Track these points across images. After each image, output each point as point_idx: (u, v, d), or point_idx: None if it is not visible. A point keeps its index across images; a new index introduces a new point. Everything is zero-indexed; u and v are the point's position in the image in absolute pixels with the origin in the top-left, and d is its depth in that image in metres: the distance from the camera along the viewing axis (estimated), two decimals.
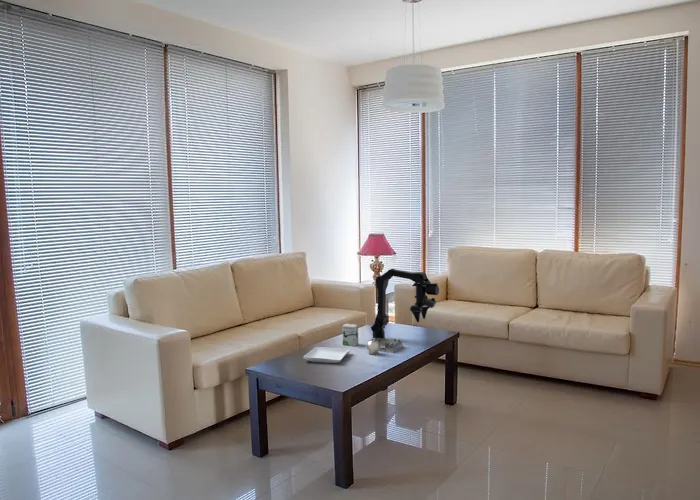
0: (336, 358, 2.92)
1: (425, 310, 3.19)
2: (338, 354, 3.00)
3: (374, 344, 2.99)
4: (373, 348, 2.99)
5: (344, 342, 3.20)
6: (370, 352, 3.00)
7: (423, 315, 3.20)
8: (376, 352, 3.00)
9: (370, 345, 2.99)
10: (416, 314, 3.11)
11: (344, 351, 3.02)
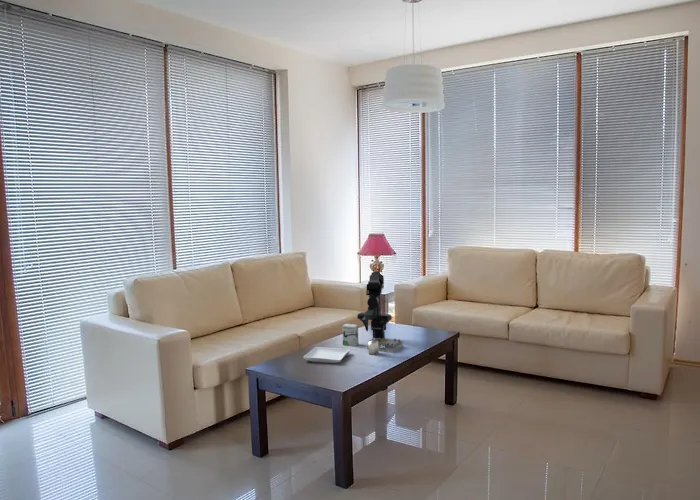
0: (336, 358, 2.92)
1: None
2: (338, 354, 3.00)
3: (374, 344, 2.99)
4: (373, 348, 2.99)
5: (344, 342, 3.20)
6: (370, 352, 3.00)
7: None
8: (376, 352, 3.00)
9: (370, 345, 2.99)
10: None
11: (344, 351, 3.02)
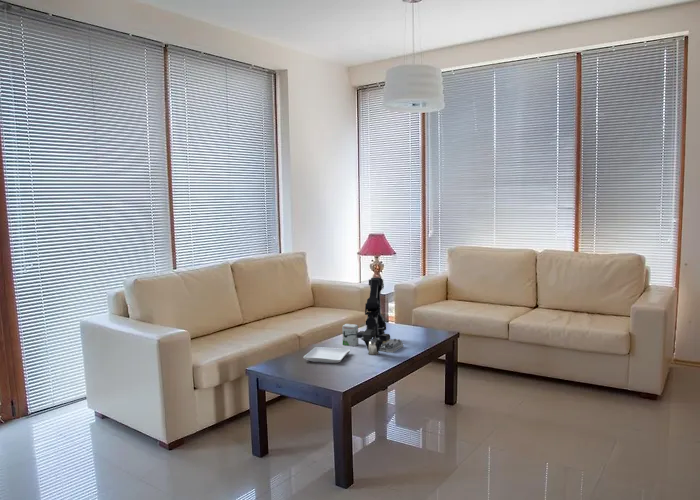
0: (336, 358, 2.92)
1: None
2: (338, 354, 3.00)
3: (374, 344, 2.99)
4: (373, 348, 2.99)
5: (344, 342, 3.20)
6: (370, 352, 3.00)
7: None
8: (376, 352, 3.00)
9: (370, 345, 2.99)
10: None
11: (344, 351, 3.02)
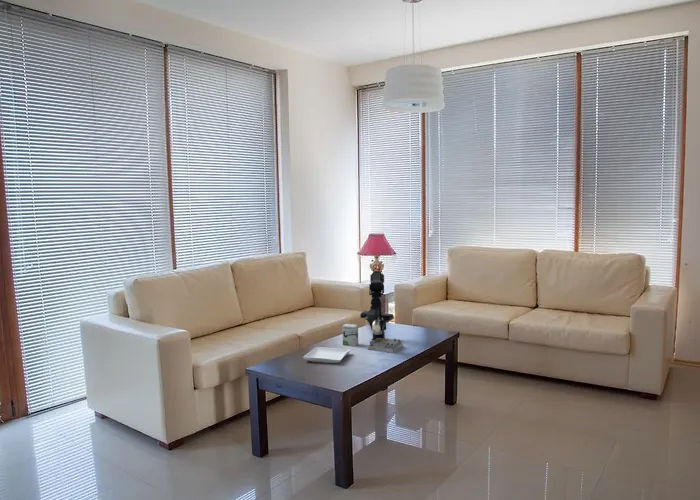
0: (336, 358, 2.92)
1: None
2: (338, 354, 3.00)
3: (378, 324, 3.04)
4: (377, 328, 3.04)
5: (344, 342, 3.20)
6: (374, 332, 3.05)
7: None
8: (380, 332, 3.05)
9: (374, 325, 3.04)
10: None
11: (344, 351, 3.02)
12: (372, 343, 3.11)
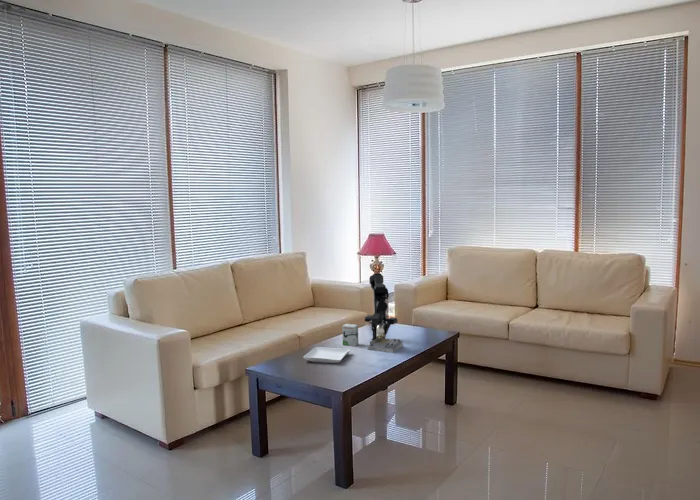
0: (336, 358, 2.92)
1: None
2: (338, 354, 3.00)
3: (382, 327, 3.10)
4: (381, 331, 3.10)
5: (344, 342, 3.20)
6: (378, 335, 3.11)
7: None
8: (384, 335, 3.11)
9: (378, 328, 3.11)
10: None
11: (344, 351, 3.02)
12: (372, 343, 3.11)
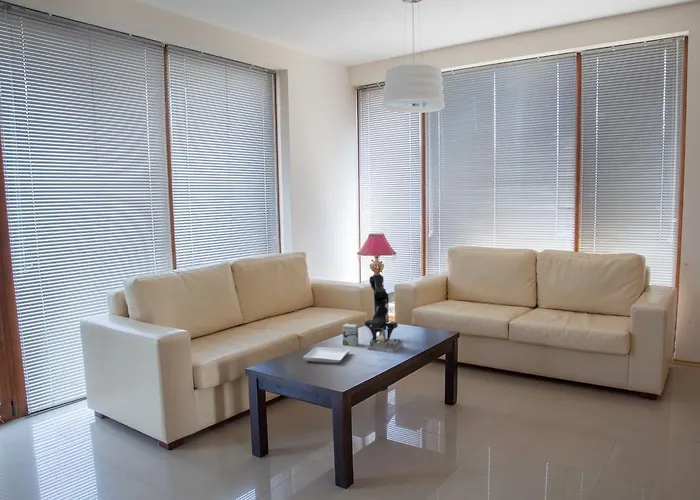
0: (336, 358, 2.92)
1: None
2: (338, 354, 3.00)
3: (382, 334, 3.10)
4: (381, 338, 3.11)
5: (344, 342, 3.20)
6: None
7: None
8: (384, 342, 3.11)
9: (378, 335, 3.11)
10: None
11: (344, 351, 3.02)
12: (372, 343, 3.11)
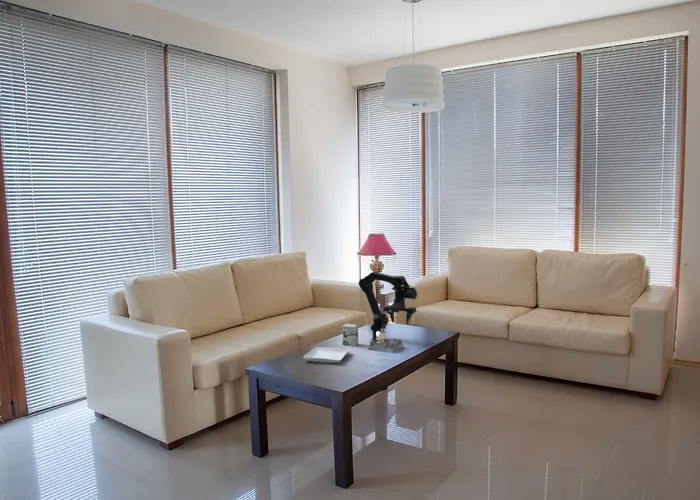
0: (336, 358, 2.92)
1: None
2: (338, 354, 3.00)
3: (382, 334, 3.10)
4: (381, 338, 3.11)
5: (344, 342, 3.20)
6: None
7: None
8: (384, 342, 3.11)
9: (378, 335, 3.11)
10: None
11: (344, 351, 3.02)
12: (372, 343, 3.11)
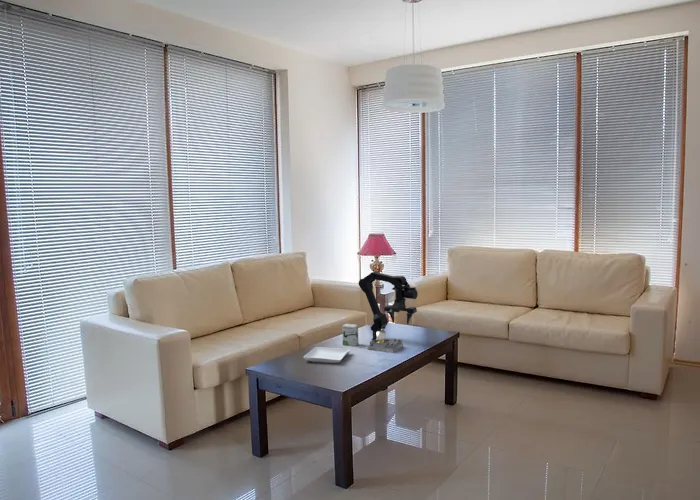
0: (336, 358, 2.92)
1: None
2: (338, 354, 3.00)
3: (382, 334, 3.10)
4: (381, 338, 3.11)
5: (344, 342, 3.20)
6: None
7: None
8: (384, 342, 3.11)
9: (378, 335, 3.11)
10: None
11: (344, 351, 3.02)
12: (372, 343, 3.11)
